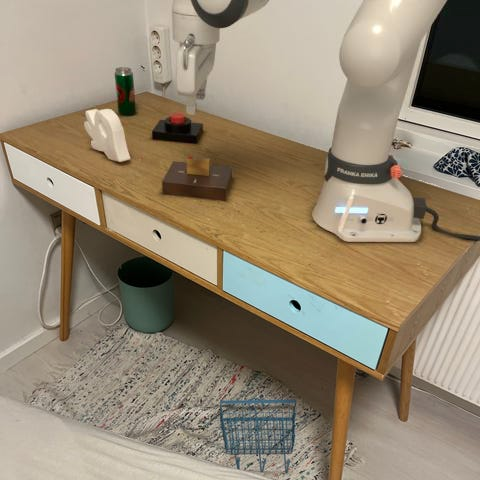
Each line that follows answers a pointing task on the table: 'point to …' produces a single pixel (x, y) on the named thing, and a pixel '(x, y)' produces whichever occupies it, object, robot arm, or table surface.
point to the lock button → (177, 118)
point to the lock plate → (197, 182)
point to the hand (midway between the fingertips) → (196, 105)
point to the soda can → (125, 91)
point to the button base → (177, 131)
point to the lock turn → (198, 166)
